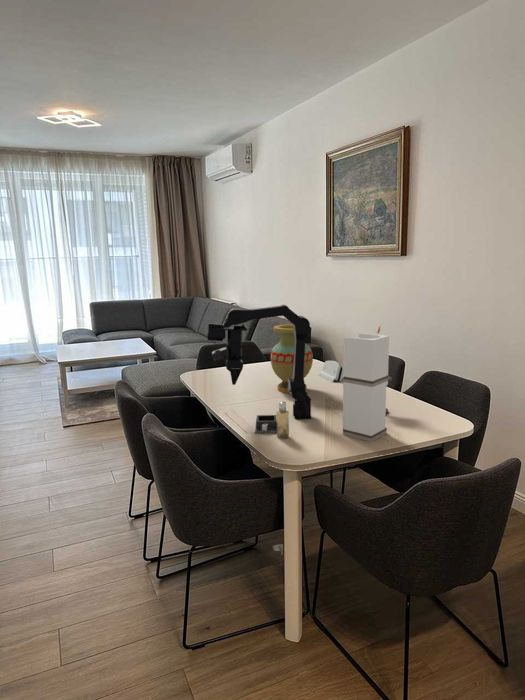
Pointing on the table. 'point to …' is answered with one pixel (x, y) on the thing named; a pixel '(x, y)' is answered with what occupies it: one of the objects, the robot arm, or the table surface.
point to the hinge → (332, 371)
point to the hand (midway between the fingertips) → (233, 381)
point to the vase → (287, 356)
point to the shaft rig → (266, 424)
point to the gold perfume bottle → (282, 421)
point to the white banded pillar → (365, 386)
